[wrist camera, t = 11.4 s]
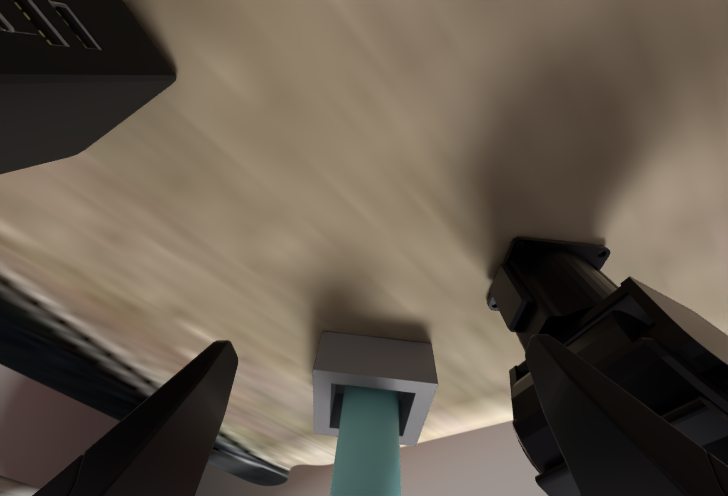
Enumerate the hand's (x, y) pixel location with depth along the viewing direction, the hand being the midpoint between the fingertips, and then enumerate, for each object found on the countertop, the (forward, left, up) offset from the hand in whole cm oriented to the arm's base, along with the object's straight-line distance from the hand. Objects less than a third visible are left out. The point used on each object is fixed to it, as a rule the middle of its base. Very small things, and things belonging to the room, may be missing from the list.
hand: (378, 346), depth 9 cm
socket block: (-1, +18, -12) cm, 22 cm away
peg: (-1, +18, -12) cm, 22 cm away
